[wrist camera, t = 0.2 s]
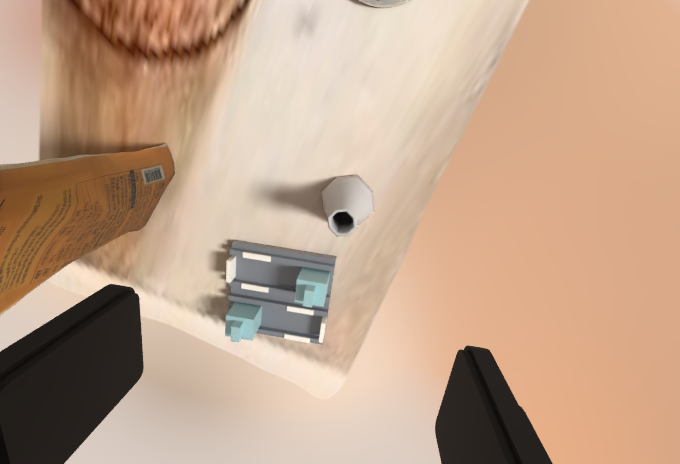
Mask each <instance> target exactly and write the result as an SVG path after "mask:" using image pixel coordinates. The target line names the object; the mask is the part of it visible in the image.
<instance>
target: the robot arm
mask: <svg viewBox="0 0 680 464" xmlns="http://www.w3.org/2000/svg"><path fill="white" fill-rule="evenodd" d="M358 1H360V2H362V3H365V4H367V5H369V6H374V7H379V8H382V7H393V6H397V5H401V4H403V3H405V2H407V1H409V0H379V1H377V0H358ZM142 373H143V352H142V335H141V321H140V304H139V296H138V294H136V293H135V291H134V289H133V288H131V287H126V286H121V285H115V284H109V285H107V286H105V287H104V288H102V289H100V290H99V291H97V292H96V293H94V294H92V295H91V296H89V297H88V298H86V299H84V300H83V301H81V302H80V303H78V304H76V305H75V306H73V307H71V308H70V309H68V310H67V311H65V312H63V313H62V314H60V315H59V316H57V317H55V318H54V319H52V320H50V321H49V322H47V323H46V324H44V325H43V326H41V327H39V328H38V329H36V330H34V331H33V332H31V333H30V334H28V335H26V336H25V337H23V338H22V339H20V340H18V341H17V342H15V343H13V344H12V345H10V346H9V347H7V348H5V349H4V350H2V351H1V352H0V464H64V463H65V462H66V461H67V460H68V458H69V457H70V456H71V455H72V454H73V453H74V451H76V449H77V448H78V447H79V446H80V445H81V444H82V443H83V442H84V441H85V440H86V438H87V437H88V436H89V435H90V434H91V433H92V432H93V431H94V430H95V428H96V427H97V426H98V425H99V424H100V423H101V422H102V421H103V419H104V418H105V417H106V416H107V415H108V414H109V412H111V411H112V409H113V408H114V407H115V406H116V405H117V404H118V403H119V402H120V400H121V399H122V398H123V397H124V396H125V395H126V394H127V393H128V392H129V390H130V389H131V388H132V387H133V386H134V385H135V384H136V383H137V381H138V380H139V379H140V377H141V375H142ZM435 433H436V439H437V443H438V448H439V453H440V458H441V463H442V464H552V462H551V460H550V458H549V456H548V454H547V452H546V451H545V449H544V447H543V445H542V443H541V441H540V439H539V438H538V436H537V434H536V432H535V430H534V428H533V426H532V424H531V422H530V421H529V419H528V417H527V415H526V413H525V412H524V410H523V409H522V407H520V406H519V405H518V403H517V401H516V400H515V397H514V395H513V394H512V392H511V390H510V388H509V386H508V384H507V382H506V380H505V379H504V376H503V375H502V373H501V371H500V369H499V367H498V365H497V363H496V361H495V359H494V357H493V355H492V354H491V352H490V350H488V349H485V348H480V347H474V346H466V347H465V349H464V350H459V351H458V353H457V355H456V358H455V362H454V365H453V368H452V371H451V374H450V377H449V381H448V384H447V388H446V390H445V394H444V397H443V400H442V403H441V406H440V410H439V413H438V416H437V419H436V425H435Z"/></svg>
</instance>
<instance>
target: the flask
mask: <svg viewBox="0 0 680 464" xmlns="http://www.w3.org/2000/svg"><path fill="white" fill-rule="evenodd" d="M321 193H322V200H323V207H324V212H325V213H326V214H327V215H328V217H327V219H328V226H329V229H330V230H331V231H332V232H333V233H334V234H335V235H336V236H348V235H349V234H351V233H352V232H353V231H354V230H355V229H356V228H357V225H359V224H360V223H361V222H363V221H364V220H365V219H366V218H367V217H368V216H369V215H371V214H372V213H373V212H374V202H373V191H372V190H371V189H370V187H369V186H368V185H367V184H366V183H365V182H364V181H363V180H362V179H361V178H360V177H359V176H358V175H352V176H343V177H336V178H335V179H334V180H333V181H332V182H331V183H330V184H329V185H328V186H327V187H326V188H325V189H324V190H322V191H321Z"/></svg>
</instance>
